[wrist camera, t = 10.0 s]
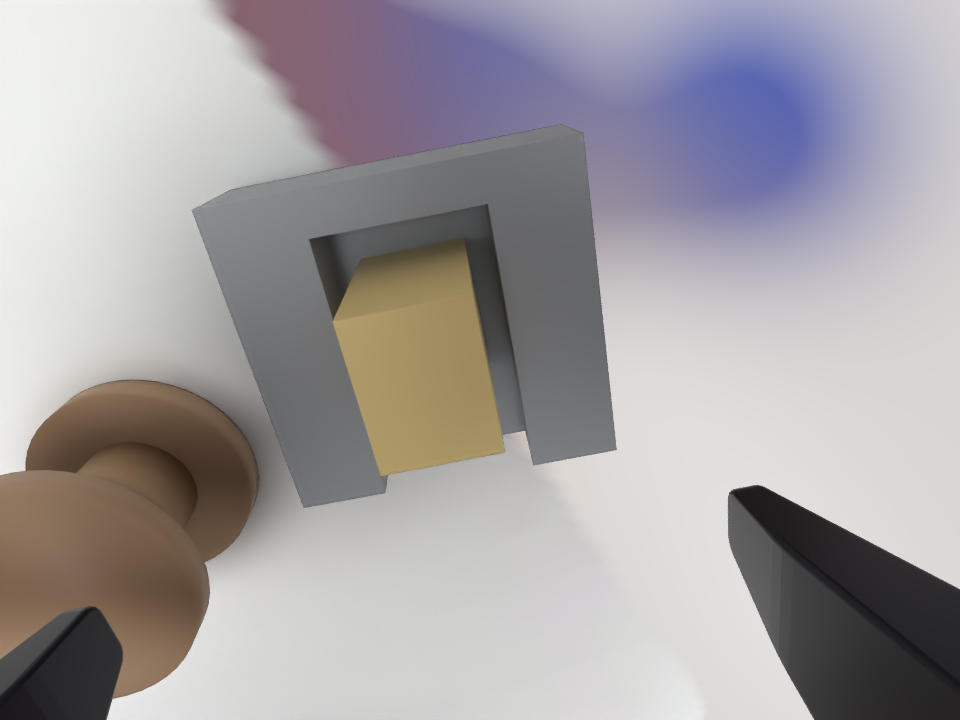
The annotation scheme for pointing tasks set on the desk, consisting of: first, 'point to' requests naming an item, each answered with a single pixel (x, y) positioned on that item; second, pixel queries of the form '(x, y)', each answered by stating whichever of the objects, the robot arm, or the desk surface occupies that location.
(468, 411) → the tan tab
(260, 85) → the desk surface
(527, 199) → the notch board
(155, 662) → the bobbin
